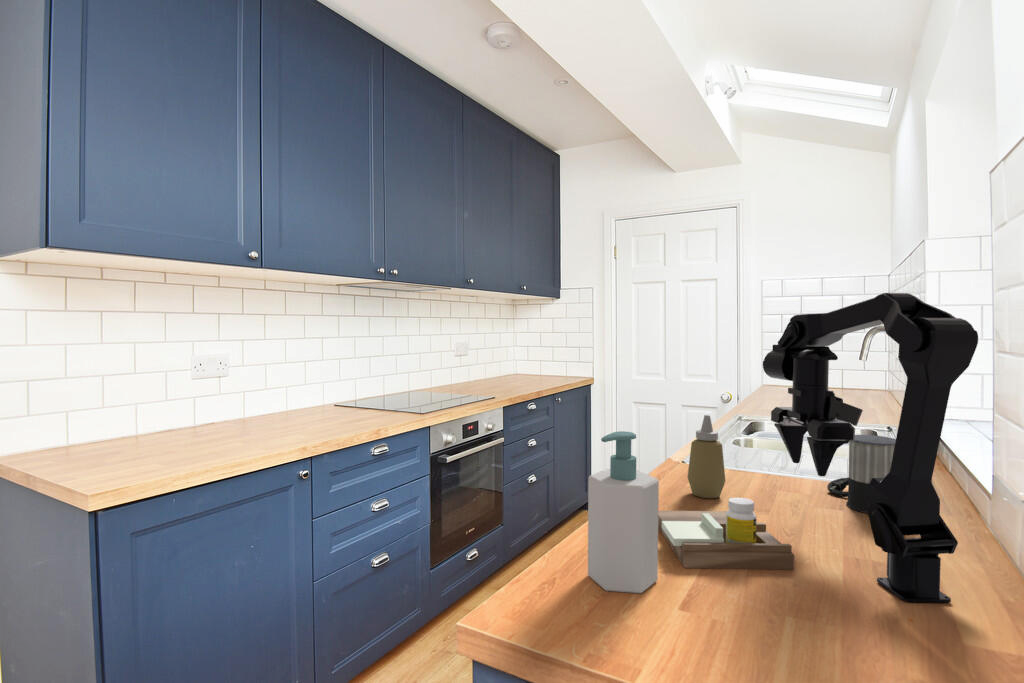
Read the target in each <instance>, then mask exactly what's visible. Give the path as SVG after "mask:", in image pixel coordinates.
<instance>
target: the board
mask: <svg viewBox="0 0 1024 683" xmlns="http://www.w3.org/2000/svg"><path fill="white" fill-rule="evenodd" d="M727 511H728V510H726V511H723V510H721V511H720V510H718V511H717V510H715V511H713V510H658V530H659V531H660V533H661V534H662V535H663V537H664V539H665V538H666V539H665V540H666V542H667V541H668V542H667V543H668V544H670V545H669V546H670V548H671V549H672V551H673V552H674V554H675V555H676V557H677V558H678V559H679V562H680V563H681V564H682V566H683V567H684V569H725V570H727V569H730V570H731V569H733V570H735V569H736V570H741V569H742V570H746V569H747V570H795V553H793V552H792V550H793V549H792V548H793V546H792V545H791V544H790V543H781V541H779V540H778V539H777V538H776V537H775V536H774V535H772V534H771V533H770V532H769V531H768V530H767V524H766V523H765V522H757V521H756V543H726V512H727ZM702 513H709V514H710V515H711V516H712V517H713V518H714V519H715V520H716V521H717V522H718V523H719V524H720V525H721V527H722V528H723V539H724V543H687V542H682V546H673V544H672V543H671V541H670V540H669V538H668V537H667V535H666V534H665V532H664V531H663V529H662V521H702Z"/></svg>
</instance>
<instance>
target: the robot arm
mask: <svg viewBox="0 0 1024 683" xmlns="http://www.w3.org/2000/svg"><path fill="white" fill-rule="evenodd" d="M878 326H883V328H884V330H885V334H886V335H887V336H888V337H890V339H892V340H893V341H894V342H896V343H897V344H898V361H899V363H900V365H901V367H902V369H903V371H904V374H905V375H906V385H905V388H904V389H905V391H904V396H903V401H902V406H901V411H900V418H899V421H898V427H897V431H896V438H895V439H896V442H895V447H894V452H893V458H892V463H891V468H890V471H889V473H888V474H887V475H886V476H885V477H883V478H872V479H871V481H870V484H869V495H868V498H867V499H866V501H865V502H866V503H869V505H868V513H867V517H868V519H869V524H870V528H871V531H872V537H873V540H874V544H875V546H878V547H879V548H880V549H881V551H882V552H885V553H887V554H886V555H887V556H886V557H887V558H886V577H876V582H877V583H879V584H880V585H882V586H883V587H884V588H885V589H886V590H888V591H890V592H891V593H892V594H894V595H895V596H896V597H898V598H899V599H900V600H902V601H903V602H907V603H908V602H909V603H910V602H911V603H951V602H952V598H951V597H950V596H948V595H946V594H945V593H943V592H942V591H941V590H940V588H941V564H942V563H941V560H942V559H941V557H940V556H939V555H942V554H948V555H949V554H951V555H954V553H955V551H956V549H957V546H958V544H959V542H958V540H957V538H956V537H955V535H954V534H953V532H952V531H951V529H950V528H949V526H948V525H947V523H946V522H945V520H944V518H942V516H941V515H940V513H941V499H940V497H939V495H938V492H937V490H936V488H935V486H934V485H933V482H932V481H933V475H934V470H935V464H936V460H937V456H938V451H939V446H940V440H941V436H942V433H943V427H944V422H945V417H946V412H947V409H948V403H949V398H950V393H951V389H952V386H953V384H954V383H955V381H957V379H959V377H960V376H961V375H962V374H963V373H965V371H966V370H967V369H968V368H969V367H970V364H971V363H972V360H973V357H974V355H975V352H976V350H977V347H978V344H979V333H978V331H977V330H975V328H974V326H973V325H972V324H971V323H970V322H969V321H967V320H966V319H963V318H959V317H956V316H954V315H953V314H951V313H949V312H947V311H945V310H942V309H940V308H938V307H935V306H933V305H930V304H928V303H926V302H924V301H923V300H921V298H918V297H917V296H915V295H913V294H911V293H908V292H883V293H882V292H881V293H880V294H878V295H877V296H875V297H873V298H869V299H865V300H863V301H860V302H857V303H854V304H851V305H847V306H845V307H841V308H838V309H835V310H832V311H829V312H824V313H823V312H822V313H804V314H795V315H793V316H792V317H791V318H790V319H789V322H788V324H787V325H786V327H785V329H784V331H783V332H782V335H781V337H780V338H779V340H777V344H772V350H770V351H769V352H768V353H767V354H766V355H765V357H764V359H763V361H762V368H763V372H764V373H765V375H766V376H768V377H770V378H771V379H778V380H783V381H791V382H792V387H788V388H787V394H790V395H792V396H791V397H792V399H791V400H792V402H791V403H792V404H791V406H775V407H774V408H773V409H772V410H771V412H770V421H771V422H774V424H773V425H774V427H775V428H776V431H777V432H778V433H779V435H780V437H781V440H782V442H783V444H784V445H785V448H786V450H787V453H788V454H789V455H788V456H789V457H790V459H791V461H792V463H794V464H800V462H801V458H802V452H803V451H802V450H803V444H804V438H805V437H804V436H805V434H806V433H808V436H807V437H806V439H807V443H808V444H807V445H808V446H809V451H810V453H811V457H812V461H813V464H814V467H815V470H816V474H817V476H818V477H825V476H826V475H827V473H828V470H829V468H830V466H831V463H832V461H833V458H834V456H835V454H836V453H837V452H836V451H837V450H838V449H839V448H840V447H841V446H843V445H845V444H849V441H850V440H854V439H855V435H856V428H855V427H857V425H858V423H859V421H860V418H861V416H862V414H863V411H864V410H863V409H862V408H859V407H856V406H854V405H852V404H848V403H845V402H844V400H843V398H841V397H838V396H836V394H835V392H834V391H833V390H830V389H829V369H830V364H829V363H830V361H837V360H838V358H839V357H838V355H837V354H836V353H835V352H833V351H832V350H831V349H830V347H829V346H831V345H834V344H836V343H838V342H840V341H841V340H842V338H843V337H844V336H845V335H847V334H851V333H854V332H858V331H862V330H866V329H870V328H874V327H878ZM854 426H855V427H854ZM918 535H919V536H920V537H910V538H905V536H918Z"/></svg>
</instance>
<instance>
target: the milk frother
mask: <svg viewBox="0 0 1024 683" xmlns="http://www.w3.org/2000/svg"><path fill="white" fill-rule="evenodd" d="M895 442H896V438H894V437H888V436H882V435H874V434H873V435H871V434H855V439H854V440H850V441H849V443H848V477H841V478H837V479H833V480H831V481H829V483H828V484H827V490H828V492H830V494H833V495H835V496H837V497H838V496H839V497H843V498H847V501H846V503H845V504H846V506H847V507H848V508H850V509H852V510H854V511H857V512H860V513H863V514H864V513H865V514H868V505H869V503H866V502H865V501H866V499H867V498H868V495H869V484H870V481H871V479H872V478H883V477H885V476H886V475H887V474H888V473H889V471H890V468H891V463H892V458H893V452H894V447H895ZM847 487H848V490H847V491H845V489H846V488H847Z"/></svg>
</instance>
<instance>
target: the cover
mask: <svg viewBox="0 0 1024 683" xmlns="http://www.w3.org/2000/svg"><path fill="white" fill-rule="evenodd" d="M662 529H663V531H664V532H665V534H666V535H667V537H668V538H669V540H670V541H671V543H672V544H673V546H682V542H687V543H724V539H723V528H722V527H721V525H720V524H719V523H718V522H717V521H716V520H715V519H714V518H713V517H712V516H711V515H710V514H709V513H702V521H662Z"/></svg>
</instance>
